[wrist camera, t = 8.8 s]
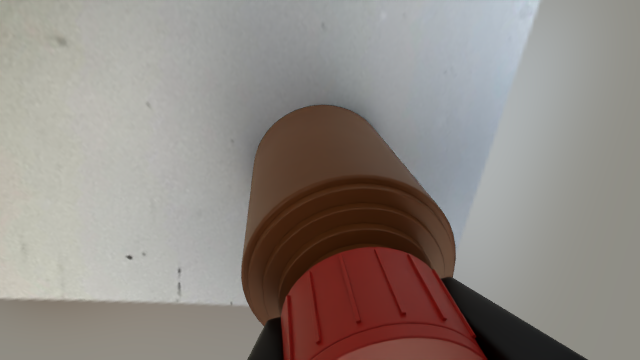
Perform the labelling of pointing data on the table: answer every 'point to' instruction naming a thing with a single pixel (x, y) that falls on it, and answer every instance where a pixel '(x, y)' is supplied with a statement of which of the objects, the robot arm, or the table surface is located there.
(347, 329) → the cap
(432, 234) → the bottle
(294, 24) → the table surface
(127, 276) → the table surface
